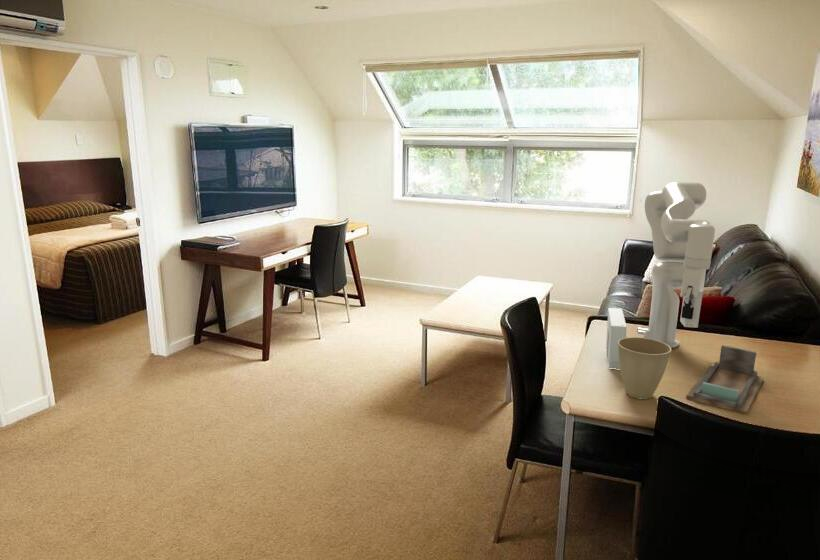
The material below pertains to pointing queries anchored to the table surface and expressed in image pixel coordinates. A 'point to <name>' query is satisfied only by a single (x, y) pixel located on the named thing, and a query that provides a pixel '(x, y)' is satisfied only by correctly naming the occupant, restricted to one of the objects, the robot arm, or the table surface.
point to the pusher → (719, 392)
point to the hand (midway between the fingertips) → (689, 314)
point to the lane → (730, 379)
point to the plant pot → (642, 365)
